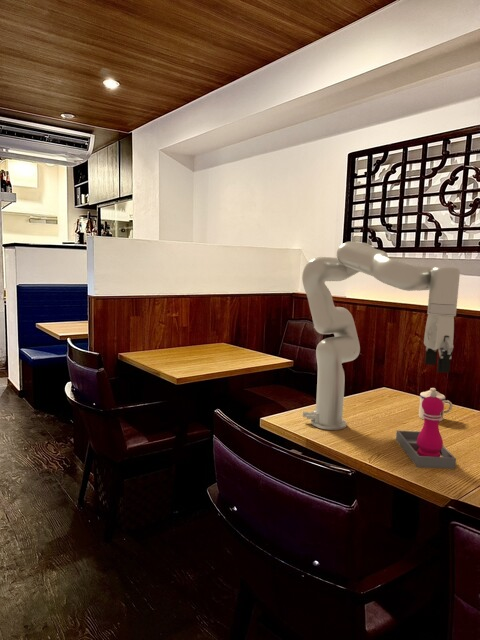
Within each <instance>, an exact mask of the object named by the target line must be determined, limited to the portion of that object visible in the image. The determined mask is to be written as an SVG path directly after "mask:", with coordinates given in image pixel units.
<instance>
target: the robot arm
mask: <svg viewBox="0 0 480 640" xmlns="http://www.w3.org/2000/svg"><path fill="white" fill-rule="evenodd" d="M358 273H363V274H365V275H368V276H371V277H373V278H374V279H376V280H377V281H379V282H380V283H383V284H385V285H387V286H390V287H393V288H395V289H399V290H402V291H407V292H410V291H411V292H412V291H413V292H414V291H428V301H427V302H428V303H427V312H426V313H427V319H426V323H425V330H424V337H423V345H424V346H425V357H424V365H427V366H428V365H429V366H436V367H437V368H436V369H437V370H436V372H437V373H445V374H448V373H450V370H451V360H452V355H453V350H454V335H455V334H454V333H455V319H454V318H455V317H456V316H457V309H458V308H457V307H458V298H459V297H458V296H459V286H460V276H461V275H460V274H461V272H460V269H459V268H458V267H455V266H431V265H426V264H425V265H424V264H421V265H420V264H410V263H406V262H401V261H399V260H395V259H393V258H390V257H389V256H388V253H387V252H386V251H384V250H381V249H379V248H378V249H377V248H374V247H373V246H372V245H371V244H369V243H367V242H360V241H346V242H344V243H342V244H341V245H339V247H338V248H337V250H336V257H326V256H324V257H323V256H320V257H314V258H313V259H310V260H309V261H307V263H306V264H305V266H304V268H303V272H302V277H301V278H302V285H303V288H304V292H305V295H306V297H307V301H308V306H309V311H310V314H311V317H312V319H311V320H312V324H313V327H314V329H315V331H316V332H317V333H318V334H321V335H331V334H333V335H334V336H331V337H326V338H324V339H322V340H321V341H319V343H318V344H317V346H316V350H315V357H316V363H317V377H316V378H317V381H316V382H317V384H316V400H315V401H316V402H315V408H314V409H313V410H312V411H302V417H303V418H306V419H308V420H309V419H310V424H311V425H312V426H314V427H315V428H318V429H321V430H327V431H338V430H343V429H346V428H347V423H348V422H347V421H346V420H345V419H343V413H344V399H345V398H344V397H345V370H344V368H343V367H344V366H343V365H342V364H344V363H348V362H352V361H354V360H356V359H357V358H358V357H359V355H360V352H361V346H360V340H359V337H358V332H357V328H356V325H355V321H354V318H353V315H352V313H351V312H350V311H349V310H348V309H347V308H346V307H341V306H335V304H334V300H333V295H332V293H331V291H330V289H329V287H328V286H327V285H326V282H342V281H344V280H347V279H349V278H351V277H353V276H355V275H356V274H358ZM437 351H438V352H437ZM438 354H439V357H438ZM437 359H438V360H437Z"/></svg>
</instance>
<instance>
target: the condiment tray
mask: <svg viewBox="0 0 480 640" xmlns="http://www.w3.org/2000/svg"><path fill="white" fill-rule="evenodd" d="M420 432H421V430H419V431H418V430H416V431H415V430H414V431H413V430H399V429H398V430H396V433H395V434H396V435H395V440H396V441H397V443H398V444H399V445H400V447H401V448H402V449H403V451H404V452H405V453H406V454H407V456H408V457H409V459H411V460H410V461H412V462H413V464H414V465H415V466H416V467H417V468H425V469H426V468H428V469H430V468H431V469H450V470H453V469H454V470H455V469H456V463H457V458H456V457H455V456H454V455H453V454H452V453H451V452H450V451H449V450H448V449H447V448H446V447H445V446H444V445H443V447H442V449H441V450H440V451H439V452H440V457H430V456H419V455H418V454H417V453H418V449H419V446H418V445H417V437H418V435H419V433H420Z"/></svg>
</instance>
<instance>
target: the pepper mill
mask: <svg viewBox="0 0 480 640" xmlns="http://www.w3.org/2000/svg"><path fill="white" fill-rule="evenodd" d="M430 395H431V396H429V397H426V398H425V399H424V400H423V401H422V408H423V410H424V412H423V417H424V421H423V426H422V428H421V430H420V433H419V435H418V437H417V445H418V446H419V449H418V453H417V454H418V455H419V456H430V457H440V452H439V451H440V450H441V449H442V447H443V446H444V441H443V437H442V435H441V432H440V429H439V427H440V426H439V423H440V421H439V420H440V419H441V414H440V413H441V412H442V411H443V409H444V410H445V403H444V404H443V402H442V400H441V399H439V398H437V397H436V396H437V393H436V392H431V394H430Z"/></svg>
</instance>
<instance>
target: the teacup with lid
mask: <svg viewBox="0 0 480 640" xmlns="http://www.w3.org/2000/svg"><path fill="white" fill-rule="evenodd" d="M431 392H436V393H437V396H436V397H437V398H439V399H441V400H442V402H443V404H444V405H445V403H447V404H449V407H448V409H447V410H445V408H444V409H443V411H442V412H441V413H440V414H441V419H440V420H439V422H442V421H443V420H444V414H448V413H450V411H451V412H452V409H453V403H452V402H451V401H450V400H448V399H447V400H446V396H445V395H444V394H442V393H440V392H439V391H437V389H436V388H435V387H430V389H429V390H426V391H422V392H420V394H419V408H418V417H419V418H420V419H422V420H424V417H423V412H424V410H423V408H422V401H423V400H424V399H425V398H426V397H429V396H431V395H430V394H431Z"/></svg>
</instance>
